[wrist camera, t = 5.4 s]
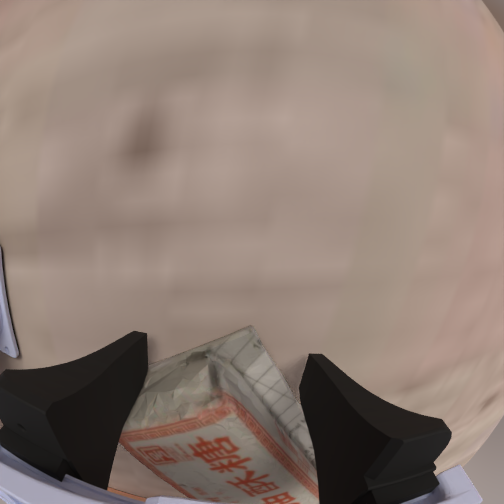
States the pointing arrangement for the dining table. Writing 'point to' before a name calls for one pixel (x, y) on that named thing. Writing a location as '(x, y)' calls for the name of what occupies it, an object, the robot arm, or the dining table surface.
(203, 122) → the dining table surface
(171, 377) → the packaged product
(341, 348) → the dining table surface
